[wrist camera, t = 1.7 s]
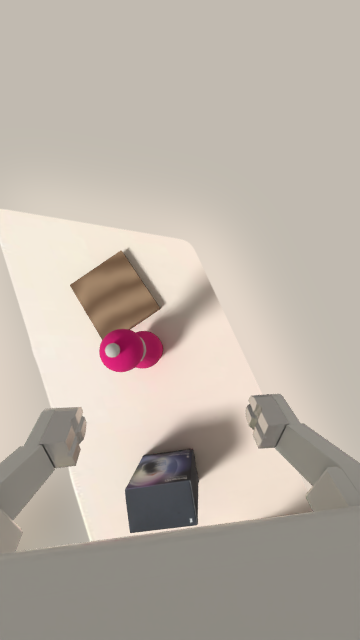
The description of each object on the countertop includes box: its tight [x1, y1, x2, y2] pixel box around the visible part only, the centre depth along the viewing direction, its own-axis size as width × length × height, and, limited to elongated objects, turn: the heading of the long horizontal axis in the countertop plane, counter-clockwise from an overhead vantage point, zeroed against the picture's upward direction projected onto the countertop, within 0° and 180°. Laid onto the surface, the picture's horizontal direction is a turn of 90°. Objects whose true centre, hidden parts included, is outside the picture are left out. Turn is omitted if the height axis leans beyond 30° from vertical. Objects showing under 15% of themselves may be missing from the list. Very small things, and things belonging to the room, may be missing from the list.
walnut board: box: [70, 251, 160, 340], centre depth 46 cm, size 16×14×2 cm
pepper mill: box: [99, 329, 163, 372], centre depth 35 cm, size 7×7×20 cm
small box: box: [125, 449, 199, 533], centre depth 36 cm, size 11×6×10 cm, turn 100°
